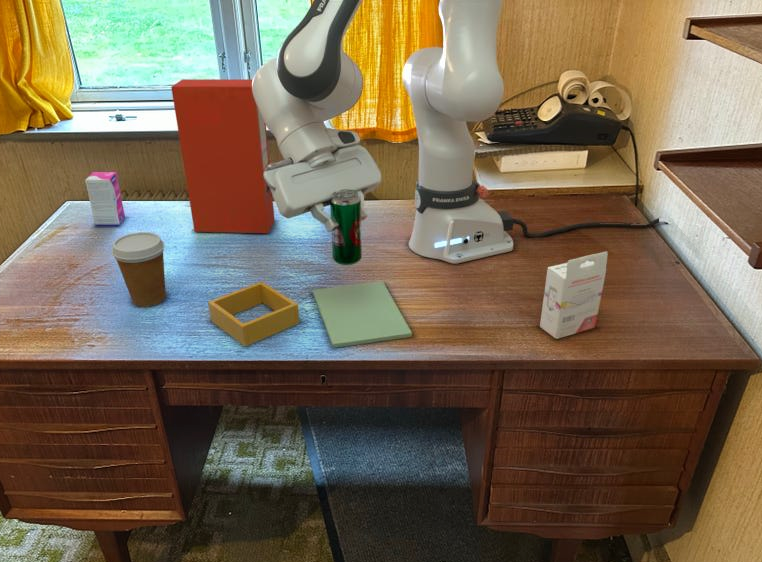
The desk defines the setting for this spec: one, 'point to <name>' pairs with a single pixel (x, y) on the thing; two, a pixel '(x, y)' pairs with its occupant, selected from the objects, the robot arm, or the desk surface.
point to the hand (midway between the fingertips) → (348, 224)
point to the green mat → (360, 314)
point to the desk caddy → (259, 327)
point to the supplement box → (105, 199)
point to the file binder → (224, 155)
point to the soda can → (346, 227)
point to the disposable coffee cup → (142, 267)
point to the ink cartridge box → (573, 295)
